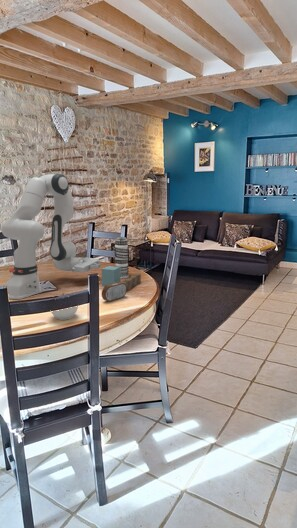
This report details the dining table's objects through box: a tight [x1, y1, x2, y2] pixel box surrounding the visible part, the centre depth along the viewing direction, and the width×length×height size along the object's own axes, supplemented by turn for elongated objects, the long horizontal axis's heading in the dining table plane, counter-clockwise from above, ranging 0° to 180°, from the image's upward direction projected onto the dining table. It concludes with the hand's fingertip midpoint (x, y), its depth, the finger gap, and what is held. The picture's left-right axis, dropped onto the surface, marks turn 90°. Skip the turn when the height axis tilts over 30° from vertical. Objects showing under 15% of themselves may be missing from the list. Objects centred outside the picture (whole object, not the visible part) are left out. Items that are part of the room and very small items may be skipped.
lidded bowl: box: [50, 292, 79, 321], centre depth 156 cm, size 13×13×11 cm
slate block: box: [101, 265, 122, 287], centre depth 206 cm, size 8×8×10 cm
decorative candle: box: [113, 236, 130, 279], centre depth 223 cm, size 9×9×25 cm
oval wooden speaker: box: [101, 281, 128, 302], centre depth 180 cm, size 15×3×8 cm, turn 136°
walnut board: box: [121, 273, 142, 293], centre depth 202 cm, size 22×3×5 cm, turn 159°
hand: (99, 266), depth 209 cm, fingers closed
